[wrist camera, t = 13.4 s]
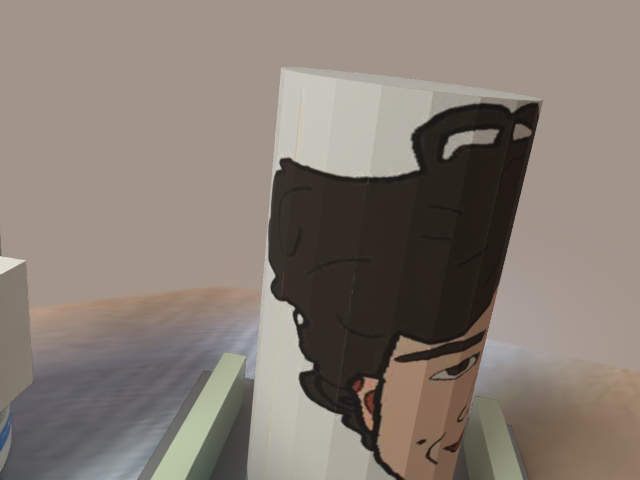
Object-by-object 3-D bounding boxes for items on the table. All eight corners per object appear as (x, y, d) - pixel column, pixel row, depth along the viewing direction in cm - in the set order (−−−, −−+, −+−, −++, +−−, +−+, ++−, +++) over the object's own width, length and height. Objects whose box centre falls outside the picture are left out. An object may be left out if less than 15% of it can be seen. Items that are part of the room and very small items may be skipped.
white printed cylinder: (370, 665, 15) (487, 100, 10) (200, 527, 18) (225, 61, 14) (464, 516, 20) (571, 100, 15) (318, 431, 24) (366, 72, 19)
